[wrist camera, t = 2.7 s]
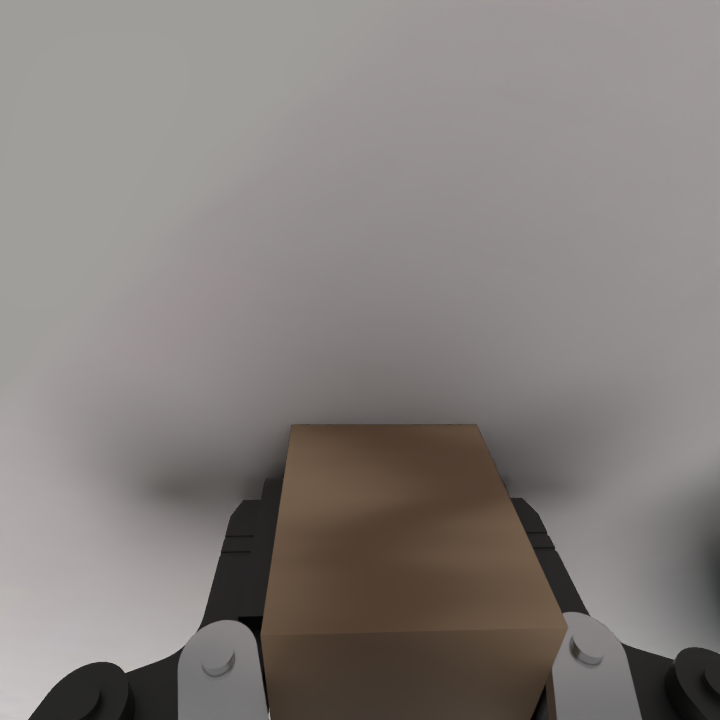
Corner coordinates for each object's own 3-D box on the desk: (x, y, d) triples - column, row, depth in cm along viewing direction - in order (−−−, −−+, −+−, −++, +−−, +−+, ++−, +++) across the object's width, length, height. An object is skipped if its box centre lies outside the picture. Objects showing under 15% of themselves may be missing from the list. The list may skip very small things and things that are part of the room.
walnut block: (476, 424, 11) (568, 626, 7) (453, 549, 13) (510, 767, 9) (291, 424, 11) (260, 635, 6) (297, 552, 13) (277, 777, 9)
